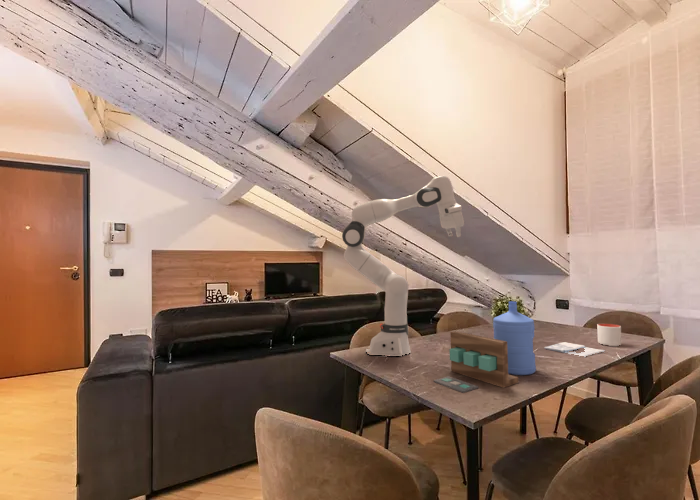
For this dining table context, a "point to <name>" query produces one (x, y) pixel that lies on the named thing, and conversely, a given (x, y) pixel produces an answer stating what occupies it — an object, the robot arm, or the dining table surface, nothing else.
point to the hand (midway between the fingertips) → (454, 236)
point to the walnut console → (485, 347)
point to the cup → (609, 334)
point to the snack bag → (567, 347)
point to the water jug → (516, 340)
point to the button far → (457, 354)
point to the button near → (488, 362)
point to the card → (456, 384)
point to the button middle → (471, 358)
